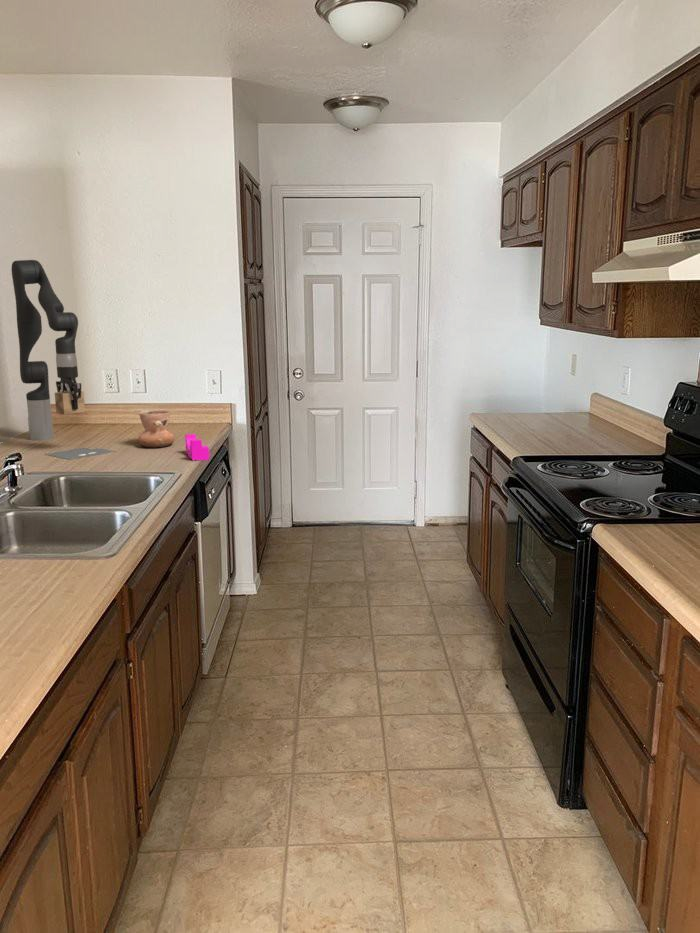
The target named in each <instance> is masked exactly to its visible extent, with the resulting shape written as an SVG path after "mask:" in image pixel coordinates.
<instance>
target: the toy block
mask: <svg viewBox="0 0 700 933" xmlns="http://www.w3.org/2000/svg"><path fill="white" fill-rule="evenodd" d="M184 436H185V453H186V455H187V454H188V455H187V456H188V457H189V459H190V458H191V459H192V460H197V461H208V460H210V448H209V447H208V445H203V444H202V441H203V440H202V439H201V438H199V439H197V435H196V433H191V434H184ZM191 459H190V460H191ZM192 460H191V461H192Z"/></svg>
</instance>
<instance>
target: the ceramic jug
mask: <svg viewBox="0 0 700 933" xmlns="http://www.w3.org/2000/svg"><path fill="white" fill-rule="evenodd" d="M138 414H139V417H140V418H139V419H140V421H141V424H142V426H143V428H144V431H143V432H142V433H141V434H139V436H138V438H137V441H138V443H139V444H140V445H141V446H142V447H144V448H148V449H149V448H150V449H151V448H152V449H153V448H154V449H156V448H158V447H159V448H165V447H168V446H170V445H172V444H173V443H174V442H175V439H176V438H175V435H174V434H173V433H172V432H171V431H169V430H167V427H168V425H169V422H170V418H171V411H169V410H161V409H157V410H156V409H149V410H143V411H142V410H141V411H140V412H138Z"/></svg>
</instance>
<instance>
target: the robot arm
mask: <svg viewBox="0 0 700 933" xmlns="http://www.w3.org/2000/svg"><path fill="white" fill-rule="evenodd" d="M10 270H11V277H12V284H13V290H14V291H13V292H14V297H15V309H16V310H15V311H16V323H17V324H16V327H17V335H18V343H19V345H18V346H19V374H20V379H21V382H22V384H29V385H30V384H40V385H39V386H38V387H37V388H35V389H33V390H31V391H28V392H27V393H26V396H25V397H26V404H27V405H26V407H27V416H28V417H27V423H28V432H29V439H30V440H31V441H34V442H35V441H37V442H38V441H49V440H52V439H54V429H53V417H52V406H51V396H50V385H49V384H50V383H49V380H50V379H49V367H48V364H47V362H46V360H45V361H44V360H37V361H35V360H34V361H33V360H32V361H29V358H30V354H31V352H32V350H33V348H34V346H35V345H36V344H37V342H38V340H39V339H40V337H41V336H42V332H43V328H42V327H43V326H42V325H43V324H42V316H41V314H40V312H39V310H38V309H37V307H36V306H35V305H34V304H33V303H32V301H31V300H30V298H29V296H28V294H27V291H26V287H25V286H26V285H34V284H38V285H39V286H40V287H39V291H38V295H37V298H38V299H37V300H38V303H39V305H40V306H41V308H42V310H43V311H44V313H45V315H46V318H47V322H48V326H49V328H50V329H51V330H53V331H54V332H65V334H64V336H61V337H58V338H56V339H55V341H54V343H55V344H54V345H55V363H56V374H57V378H58V379H60V380H59V381H57V380H56V381H55V385H56V386H55V387H56V391H57V392H68V393H69V394H70V395H71V403H72V409H73V410H76V409H78V401H77V400H78V399H79V398H81V391H82V383H81V382H79V383H78V382H77V380H76V378H78V377H79V370H78V358H77V353H76V336H77V332H78V327H79V319H78V317H77V315H76V314H75V313H74V312H72V311H67V312H64V311H65V307H64V305H63V303H62V302H61V300H60V299H59V298H58V296H57V294H56V293H55V291H54V289H53V287H52V284H51V282H50V280H49V278H48V276H47V273H46V271H45V269H44V267H43V265H42V264H41V263H40V262H39V261H38V260H35V259H24V260H23V259H21V260H14V261H13V262H12V263H11V269H10ZM72 391H74V392H72ZM77 393H78V395H77ZM73 394H74V397H73Z"/></svg>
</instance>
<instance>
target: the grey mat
mask: <svg viewBox="0 0 700 933" xmlns="http://www.w3.org/2000/svg"><path fill="white" fill-rule="evenodd" d="M85 447H86V446H85ZM85 447H79V448H74V449H67V450H61V451H57V452H56V451H55V452H50V453H44V455H46V456H50V457H56V458H60V459H65V460H69V461H71V460H76V459H80V458H86V457H87V458H88V457H94V456H96V455H102V454H103V455H104V454H107V453H114V452H116V450H111V449H106V448H101V449H98V448H99V447H96V449H92V450H91V449H88V448H85Z"/></svg>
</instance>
